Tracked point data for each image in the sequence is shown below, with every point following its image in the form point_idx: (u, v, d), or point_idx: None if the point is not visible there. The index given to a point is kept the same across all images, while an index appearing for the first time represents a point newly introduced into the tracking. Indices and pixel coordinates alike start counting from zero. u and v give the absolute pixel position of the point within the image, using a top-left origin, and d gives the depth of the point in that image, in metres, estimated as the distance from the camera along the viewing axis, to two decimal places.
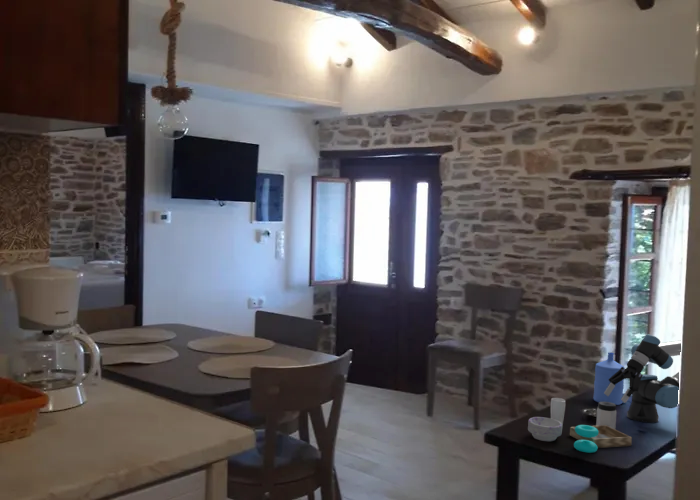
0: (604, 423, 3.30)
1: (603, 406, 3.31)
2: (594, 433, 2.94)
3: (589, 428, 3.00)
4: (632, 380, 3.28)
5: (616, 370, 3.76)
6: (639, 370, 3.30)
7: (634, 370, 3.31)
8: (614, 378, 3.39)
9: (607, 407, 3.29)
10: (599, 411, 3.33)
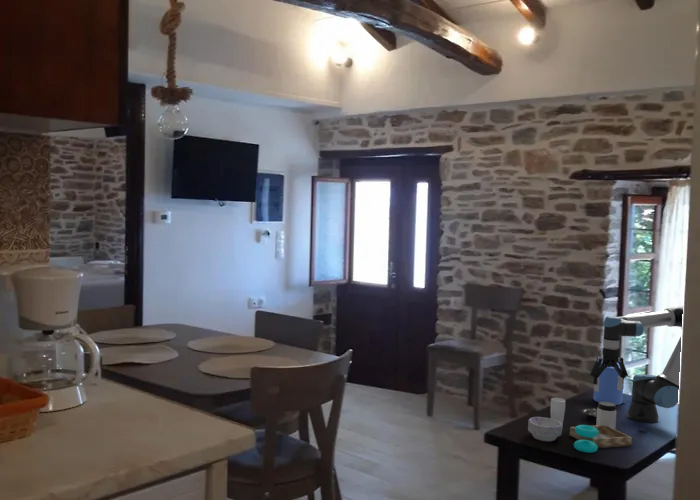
0: (604, 423, 3.30)
1: (603, 406, 3.31)
2: (594, 433, 2.94)
3: (589, 428, 3.00)
4: (600, 367, 3.32)
5: None
6: (605, 355, 3.30)
7: None
8: None
9: (607, 407, 3.29)
10: (599, 411, 3.33)
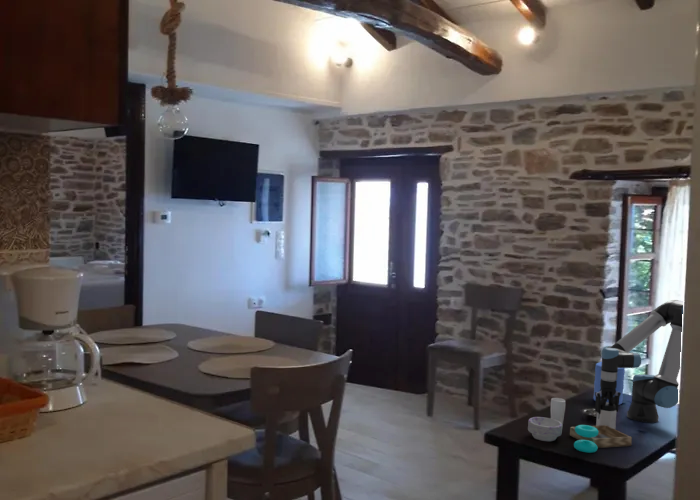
0: (604, 423, 3.30)
1: (603, 406, 3.30)
2: (594, 433, 2.94)
3: (589, 428, 3.00)
4: (601, 401, 3.33)
5: None
6: (601, 388, 3.31)
7: None
8: None
9: (607, 407, 3.29)
10: None
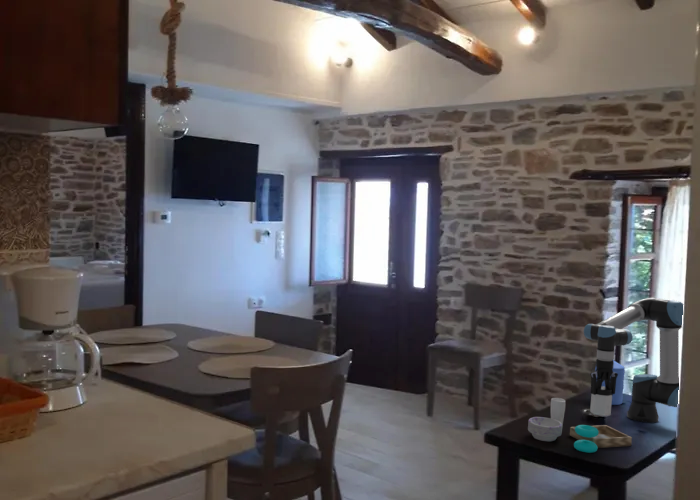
0: (599, 408, 3.09)
1: (598, 390, 3.09)
2: (594, 433, 2.94)
3: (589, 428, 3.00)
4: (597, 383, 3.12)
5: (616, 370, 3.76)
6: None
7: None
8: None
9: (602, 391, 3.08)
10: (593, 396, 3.11)
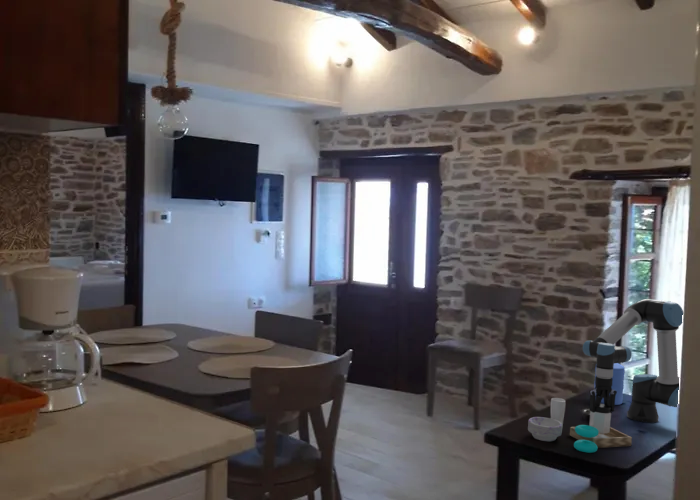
0: (597, 426, 3.09)
1: (597, 408, 3.09)
2: (594, 433, 2.94)
3: (589, 428, 3.00)
4: (596, 400, 3.12)
5: (616, 370, 3.76)
6: (595, 386, 3.10)
7: None
8: (606, 405, 3.14)
9: (601, 409, 3.08)
10: (592, 413, 3.12)
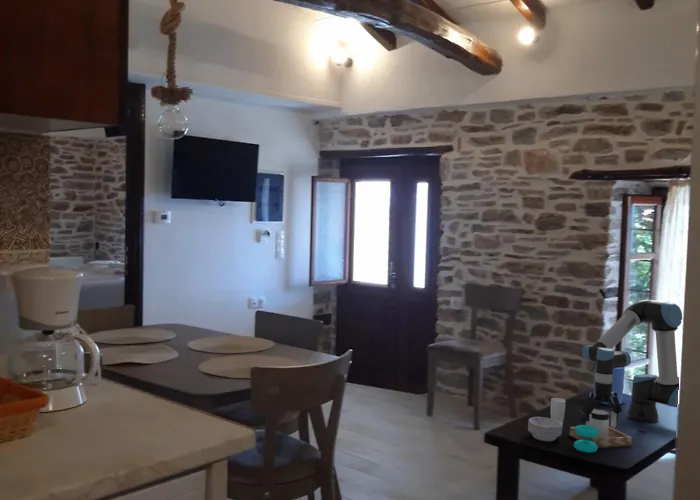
0: None
1: (595, 415, 3.11)
2: (594, 433, 2.94)
3: (589, 428, 3.00)
4: (592, 403, 3.11)
5: (616, 370, 3.76)
6: (597, 389, 3.10)
7: None
8: None
9: (599, 416, 3.10)
10: (591, 420, 3.13)
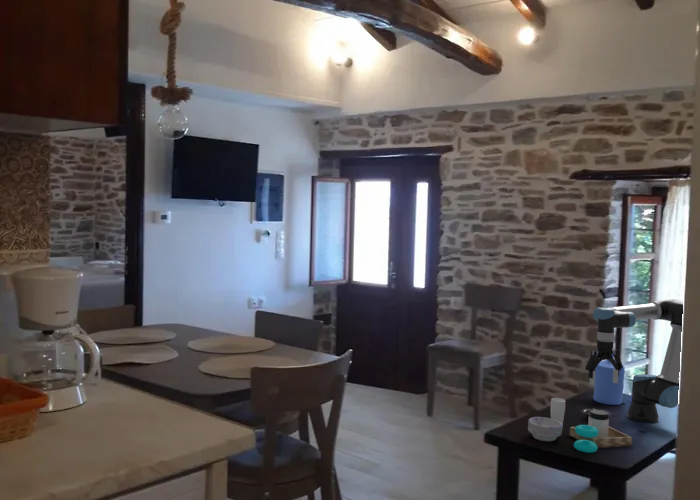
0: None
1: (595, 415, 3.11)
2: (594, 433, 2.94)
3: (589, 428, 3.00)
4: (595, 361, 3.25)
5: None
6: (599, 348, 3.24)
7: None
8: None
9: (599, 416, 3.10)
10: (590, 420, 3.13)
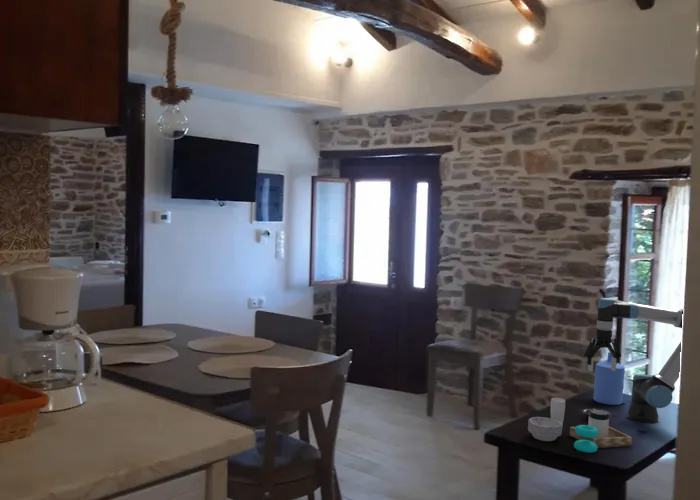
0: None
1: (595, 415, 3.11)
2: (594, 433, 2.94)
3: (589, 428, 3.00)
4: (594, 348, 3.38)
5: (616, 370, 3.76)
6: (598, 336, 3.37)
7: None
8: None
9: (599, 416, 3.10)
10: (590, 420, 3.13)
